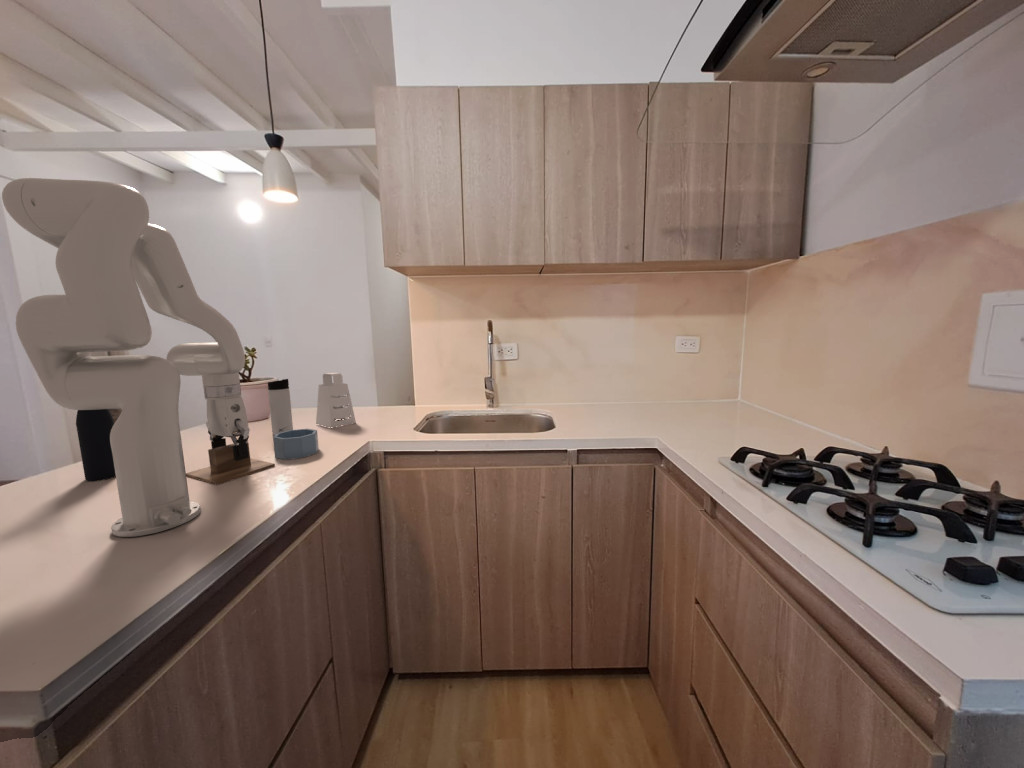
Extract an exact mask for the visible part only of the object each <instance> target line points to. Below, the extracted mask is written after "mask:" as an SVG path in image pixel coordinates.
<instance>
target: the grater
mask: <svg viewBox="0 0 1024 768" xmlns="http://www.w3.org/2000/svg"><path fill="white" fill-rule="evenodd" d="M343 381H344V380H343V375H342V373H340V372H327V373H326V372H325V373H323V374H322V384H319V385H318V391H317V402H316V403H317V405H316V418H315V425H316V424H319V425H323V426H326V427H330V428H331V427H336V426H341V425H345V426H348V425H347V424H350V425H353V424H352V423H355V424H356V423H357V421H356V418H355V417H356V416H355V411H354V408H353V404H352V403H353V402H352V399H351V395H350V390H349V386H348V383H343ZM336 419H344V420H339V421H335V420H336ZM341 427H342V426H341ZM330 428H329V429H330ZM336 428H337V427H336Z"/></svg>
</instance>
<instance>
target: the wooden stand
mask: <svg viewBox="0 0 1024 768" xmlns="http://www.w3.org/2000/svg"><path fill="white" fill-rule="evenodd" d="M249 444H250V443H249V442H248V443H247V446H248V455H249V457H248V458H246V459H242V460H239V461H235V460H234V454H233V446H234V443H231V444H226V445H225V446H221V447H217V448H213V449H212V448H209V449H207V451H208V460H209V466H207V467H203V468H199V469H197V470H193V471H190V472H186V475H187V476H186V477H188V476H190V477H189V478H191V477H194V478H193V479H195V478H197V479H196V480H198V479H200V480H199V481H201V480H203V481H202V482H205V481H206V483H208V482H209V484H213V485H215V484H216V485H215V486H218V485H221V484H224V482H225V483H228V482H231V481H233V480H238V479H240V478H243V477H246V476H250V475H252V474H256V473H260V472H262V471H265V470H268V469H272V468H274V466H275V467H276V463H274V462H273V463H272V462H268V461H264V460H259V459H254V458H251V453H250V445H249ZM271 467H272V468H271ZM227 481H228V482H227ZM217 484H218V485H217Z"/></svg>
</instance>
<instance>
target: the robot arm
mask: <svg viewBox="0 0 1024 768" xmlns="http://www.w3.org/2000/svg"><path fill="white" fill-rule="evenodd" d="M1 200H2V203H3V206H4V208H5V210H6V213H8V214H9V216H10V217H11V218H12V219H13V221H14V222H15V223H17V224H18V225H19V226H20V227H21V228H23V229H24V230H25V231H27V232H28V233H30V234H31V235H33V236H35V237H36V238H38V239H40V240H42V241H44V242H46V243H47V244H49V245H51V246H53V247H55V248H56V249H57V252H56V254H55V268H56V271H57V274H58V276H59V280H60V282H61V285H62V287H63V291H64V294H44V295H38V296H33V297H32V298H29V299H27V300H25V301H24V302H23V303H22V304H21V306H20V307H19V308H18V310H17V312H16V317H15V327H16V328H15V329H16V332H17V333H16V334H17V336H18V338H19V341H20V342H21V346H22V347H23V349H24V351H25V353H26V355H27V356H28V359H29V360H30V363H31V365H32V368H34V370H35V371H34V372H36V374H37V376H38V378H39V380H40V382H41V384H42V385H43V388H44V389H45V391H46V393H47V394H48V396H49V397H50V399H52V401H54V403H55V404H57V405H59V406H60V407H62V408H65V409H67V410H74V411H78V410H100V409H109V410H121V413H120V414H119V416H118V418H117V419H116V420H115V421H114V425H113V427H112V429H111V433H110V444H111V449H112V455H113V461H114V468H115V474H116V477H115V478H116V479H115V480H116V485H117V491H118V493H117V494H118V498H119V504H120V511H121V518H119V519H118V520H116V521H114V522H113V523H112V524H111V527H110V528H111V529H110V530H111V533H112V534H113V535H114V536H115V537H116V536H117V537H120V538H135V537H142V536H147V535H152V534H157V533H160V532H164V531H167V530H170V529H173V528H176V527H178V526H179V527H180V526H182V525H183V524H185V523H188V522H189V521H192V520H193V519H194V518H196V517H198V515H199V514H200V513H201V511H202V509H201V505H200V503H199V502H197V501H192V500H191V501H190V494H189V489H188V488H189V487H188V480H187V479H188V478H187V476H186V473H187V472H186V465H185V463H186V462H185V457H184V450H183V449H184V448H183V442H182V441H183V440H182V435H181V428H180V418H179V417H180V415H179V401H180V394H181V393H180V392H181V390H180V389H181V380H182V379H181V376H185V377H187V376H188V377H193V376H194V377H196V376H197V377H198V376H199V377H200V376H201V380H202V389H203V396H204V400H206V420H207V422H205V425H206V428H207V431H208V432H207V433H208V434H209V440H210V444H211V449H213V448H217V447H221V446H225V445H227V438H230V439H231V441H232V444H234V446H233V454H234V460H235V461H239V460H242V459H246V458H248V457H249V455H248V446H247V443H249V437H250V436H249V435H250V431H251V429H250V427H249V421H248V415H247V411H246V407H245V403H244V399H243V397H242V389H241V381H240V373H239V372H241V371H242V370H243V369H244V367H245V364H246V356H245V351H244V347H243V345H242V341H241V340H240V336H239V335H238V332H237V329H236V328H235V327H234V325H233V324H232V322H230V320H228V319H227V318H226V317H225V316H224V315H223V314H222V313H221V312H220V311H218V310H217V309H216V308H214V307H213V306H211V305H210V304H208V303H206V302H205V301H204V300H202V299H201V298H200V296H199V295H198V293H197V291H196V287H195V284H194V283H193V281H192V279H191V276H190V273H189V270H188V269H187V266H186V264H185V262H184V259H183V257H182V255H181V252H180V249H179V247H178V245H177V243H176V242H177V241H175V238H174V237H173V235H172V234H171V233H170V232H169V231H168V230H166V229H165V228H164V227H162V226H159V225H157V224H153V223H149V219H150V210H149V206H148V203H147V200H146V198H145V197H144V195H142V194H141V192H139V191H138V190H136V189H135V188H133V187H130V186H128V185H124V184H122V183H117V182H112V181H111V182H110V181H103V180H100V181H99V180H85V179H84V180H83V179H61V178H60V179H59V178H58V179H57V178H40V177H39V178H37V177H29V178H27V177H25V178H17V179H14V180H11V181H9V182H8V183H7V184H6V185H5V186H4V187H3V190H2V193H1ZM140 293H141V294H142V296H143V298H144V300H145V302H146V304H147V306H148V307H149V309H151V310H152V311H154V312H155V313H157V314H158V315H163V316H165V317H168V318H171V319H173V320H177V321H179V322H182V323H186V324H188V325H190V326H191V325H192V326H193V327H196V328H198V329H200V330H202V331H203V332H205V333H207V334H208V335H209V336H210V337H211V338H213V339H214V342H190V343H189V342H188V343H180V344H177V345H174V346H173V347H171V348H170V350H169V351H168V352H167V354H166V358H164V357H159V356H155V355H147V354H146V355H145V354H144V355H143V354H134V355H133V354H132V355H131V354H130V355H129V354H128V355H126V354H125V355H121V354H120V355H99V356H98V355H97V356H96V355H95V356H92V354H91V353H96V352H97V353H98V352H100V353H102V352H122V351H123V352H125V351H127V352H128V351H133V350H134V351H135V350H138V349H142V348H145V347H146V346H147V345H148V344H149V343H150V342H151V340H152V336H153V335H152V334H153V333H152V331H153V330H152V325H151V322H150V319H149V315H148V313H147V311H146V307H145V304H144V302H143V299H142V296H141V294H140ZM237 437H238V438H237Z"/></svg>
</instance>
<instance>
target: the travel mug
mask: <svg viewBox="0 0 1024 768" xmlns="http://www.w3.org/2000/svg"><path fill="white" fill-rule="evenodd" d="M289 385H290V384H289V378H283V379H282V380H281V379H280V380H274V381H268V382H267V391H268V402H269V403H268V404H269V412H270V421H271V424H270V425H271V432H272V438H273V437H274V436H275V435H276V434H277V433H281V432H285V431H289V430H294V425H293V424H294V423H293V413H292V403H291V394H290V386H289Z"/></svg>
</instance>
